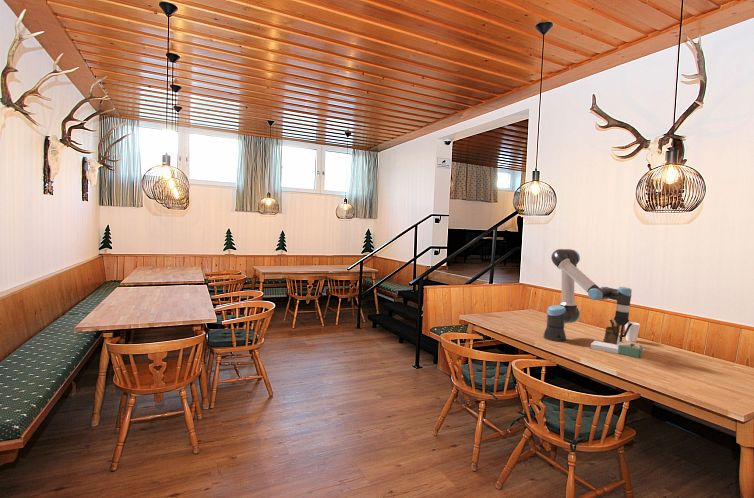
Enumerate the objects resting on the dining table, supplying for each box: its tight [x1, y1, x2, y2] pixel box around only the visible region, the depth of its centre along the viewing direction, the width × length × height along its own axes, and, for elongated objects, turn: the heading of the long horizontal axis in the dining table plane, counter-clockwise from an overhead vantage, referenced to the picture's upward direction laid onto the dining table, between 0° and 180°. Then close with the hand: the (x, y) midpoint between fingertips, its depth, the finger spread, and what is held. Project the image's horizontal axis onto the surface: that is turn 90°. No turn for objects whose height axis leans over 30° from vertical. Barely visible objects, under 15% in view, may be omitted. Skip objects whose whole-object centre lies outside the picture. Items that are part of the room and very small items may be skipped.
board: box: [590, 340, 619, 355], centre depth 272 cm, size 16×12×3 cm
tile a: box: [619, 342, 632, 347], centre depth 265 cm, size 6×6×3 cm
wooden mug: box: [602, 321, 621, 345], centre depth 288 cm, size 9×14×18 cm, turn 104°
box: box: [617, 341, 644, 359], centre depth 263 cm, size 12×12×6 cm
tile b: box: [631, 343, 640, 349], centre depth 262 cm, size 6×6×3 cm
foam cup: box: [624, 321, 641, 343], centre depth 298 cm, size 10×9×13 cm
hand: (618, 346), depth 267 cm, fingers closed
